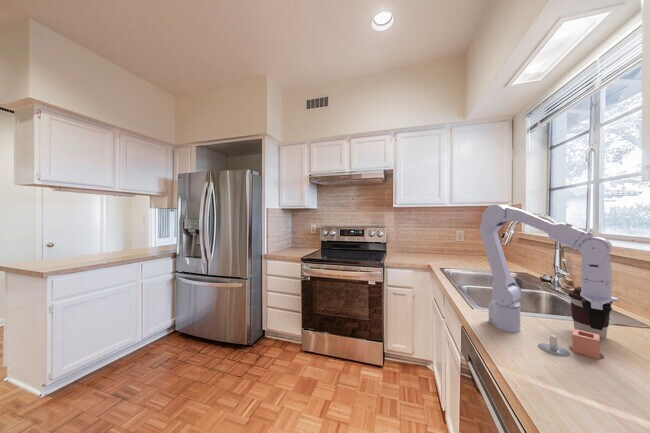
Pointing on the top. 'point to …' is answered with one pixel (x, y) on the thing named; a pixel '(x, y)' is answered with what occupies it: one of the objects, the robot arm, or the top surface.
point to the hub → (585, 355)
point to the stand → (554, 348)
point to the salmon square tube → (586, 343)
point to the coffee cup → (584, 315)
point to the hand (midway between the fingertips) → (596, 327)
